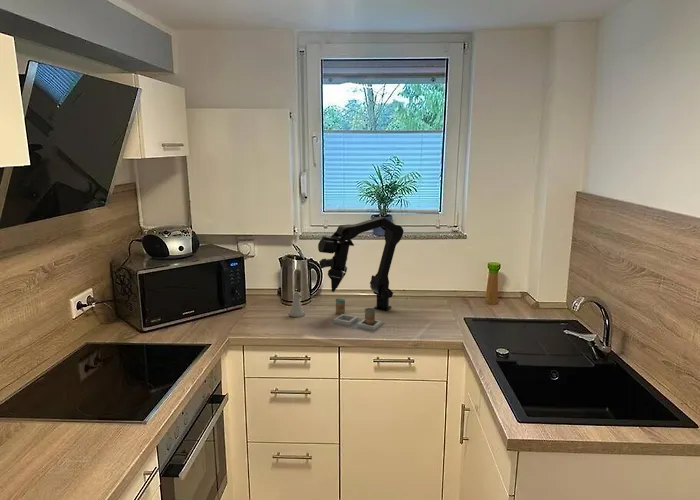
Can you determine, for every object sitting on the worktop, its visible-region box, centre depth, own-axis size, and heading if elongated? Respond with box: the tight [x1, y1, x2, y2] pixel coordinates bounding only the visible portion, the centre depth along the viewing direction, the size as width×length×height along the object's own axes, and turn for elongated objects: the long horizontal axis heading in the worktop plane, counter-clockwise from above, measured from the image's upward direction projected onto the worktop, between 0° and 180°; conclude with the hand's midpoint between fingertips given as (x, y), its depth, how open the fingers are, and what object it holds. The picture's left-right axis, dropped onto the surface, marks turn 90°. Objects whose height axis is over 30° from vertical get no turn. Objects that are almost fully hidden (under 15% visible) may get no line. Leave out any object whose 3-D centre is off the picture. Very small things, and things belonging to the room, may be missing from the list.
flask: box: [288, 291, 306, 318], centre depth 223 cm, size 7×7×10 cm
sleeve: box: [335, 297, 346, 315], centre depth 224 cm, size 4×4×7 cm
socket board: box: [330, 313, 386, 333], centre depth 211 cm, size 12×20×3 cm, turn 63°
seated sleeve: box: [364, 307, 376, 326], centre depth 208 cm, size 4×4×7 cm
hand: (334, 289), depth 219 cm, fingers open, 9 cm apart
